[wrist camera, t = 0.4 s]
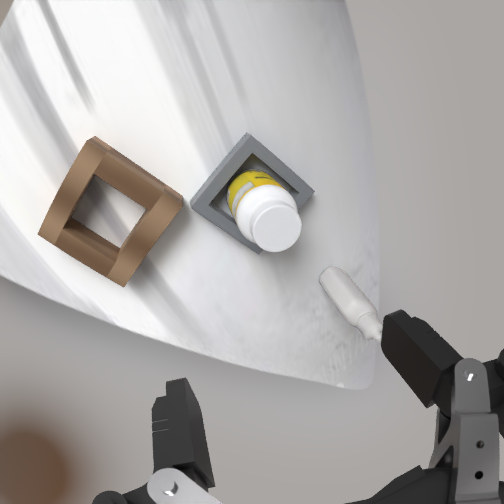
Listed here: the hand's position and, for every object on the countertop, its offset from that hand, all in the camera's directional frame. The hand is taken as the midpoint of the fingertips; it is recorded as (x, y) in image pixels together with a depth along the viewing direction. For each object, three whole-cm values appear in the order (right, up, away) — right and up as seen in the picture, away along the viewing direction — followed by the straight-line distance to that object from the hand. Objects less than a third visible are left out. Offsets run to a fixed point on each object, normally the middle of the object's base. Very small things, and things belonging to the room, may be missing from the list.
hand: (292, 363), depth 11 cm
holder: (-2, +10, +21) cm, 24 cm away
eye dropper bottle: (+9, +1, +30) cm, 31 cm away
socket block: (-16, +9, +19) cm, 26 cm away
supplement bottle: (-2, +11, +22) cm, 24 cm away
